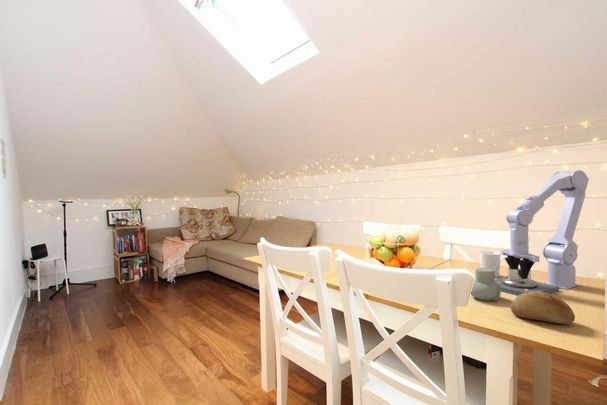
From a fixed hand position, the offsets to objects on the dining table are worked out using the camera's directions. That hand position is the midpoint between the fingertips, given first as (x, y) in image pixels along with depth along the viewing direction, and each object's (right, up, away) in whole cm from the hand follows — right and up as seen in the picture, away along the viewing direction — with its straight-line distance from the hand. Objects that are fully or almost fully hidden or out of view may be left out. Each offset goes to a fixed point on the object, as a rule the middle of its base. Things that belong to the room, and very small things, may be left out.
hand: (519, 277), depth 125 cm
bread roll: (-13, -6, -30) cm, 33 cm away
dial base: (0, -4, 0) cm, 4 cm away
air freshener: (-18, -5, -10) cm, 22 cm away
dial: (0, -3, 0) cm, 3 cm away
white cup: (0, -4, +19) cm, 20 cm away
